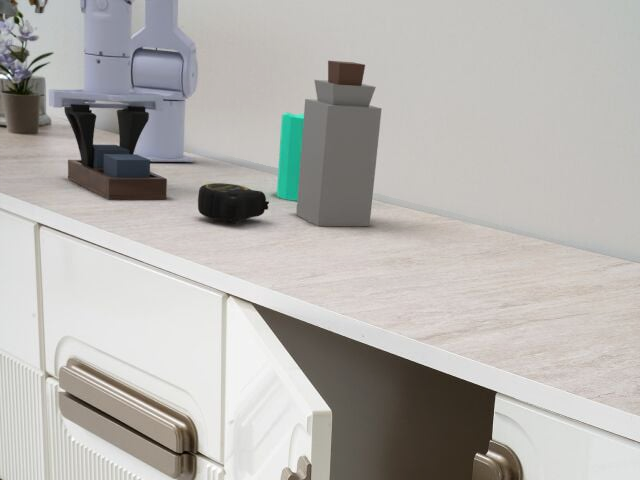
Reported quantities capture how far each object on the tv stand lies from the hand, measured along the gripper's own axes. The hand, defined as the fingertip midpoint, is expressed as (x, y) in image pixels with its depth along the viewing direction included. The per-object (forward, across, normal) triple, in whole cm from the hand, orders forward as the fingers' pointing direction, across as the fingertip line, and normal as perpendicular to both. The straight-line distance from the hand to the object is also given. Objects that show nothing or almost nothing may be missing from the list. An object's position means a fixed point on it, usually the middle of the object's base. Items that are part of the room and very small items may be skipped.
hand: (106, 167), depth 145 cm
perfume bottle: (+2, +19, -25) cm, 32 cm away
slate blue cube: (+2, 0, 0) cm, 2 cm away
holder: (+2, 0, -3) cm, 4 cm away
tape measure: (+2, +6, -24) cm, 25 cm away
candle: (+2, +23, -10) cm, 25 cm away
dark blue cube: (+2, 0, -7) cm, 7 cm away
